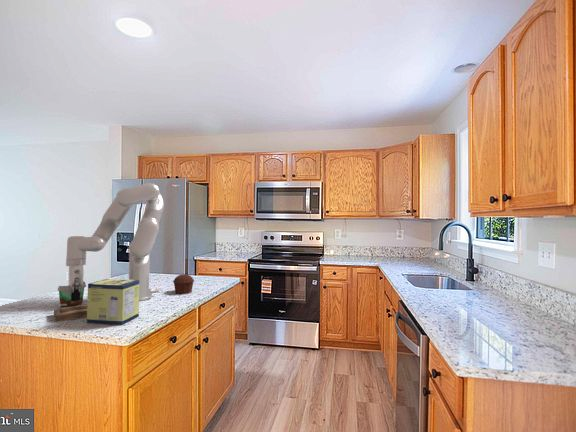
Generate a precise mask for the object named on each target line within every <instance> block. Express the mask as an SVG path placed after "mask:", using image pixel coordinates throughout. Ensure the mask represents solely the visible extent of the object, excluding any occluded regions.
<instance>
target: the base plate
mask: <svg viewBox="0 0 576 432" xmlns="http://www.w3.org/2000/svg"><path fill="white" fill-rule="evenodd" d="M53 318H54V321H55V323H58V322H59V323H60V322H65V321H71V320H76V319H83V318H87V304H81V305H78V306H73V307H59V308H54V309H53Z"/></svg>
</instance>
